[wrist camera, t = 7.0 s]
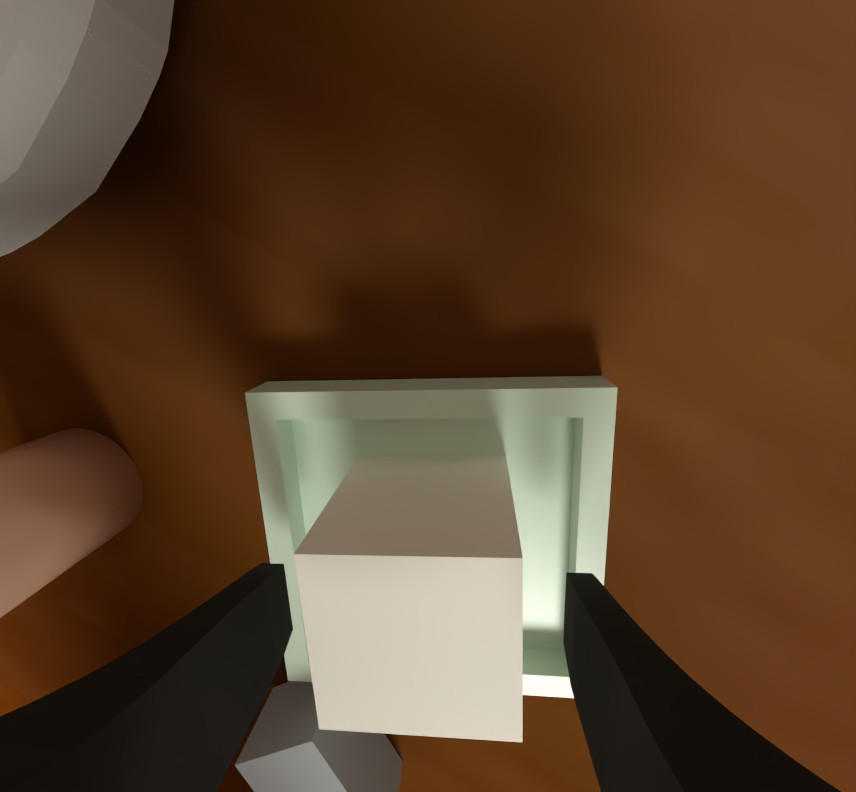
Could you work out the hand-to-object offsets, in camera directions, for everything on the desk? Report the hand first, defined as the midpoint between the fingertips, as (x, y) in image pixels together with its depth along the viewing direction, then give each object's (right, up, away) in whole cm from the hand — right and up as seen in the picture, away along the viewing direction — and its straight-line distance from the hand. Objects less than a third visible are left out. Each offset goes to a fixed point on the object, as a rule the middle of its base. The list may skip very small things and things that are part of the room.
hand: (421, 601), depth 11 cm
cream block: (0, +1, +3) cm, 3 cm away
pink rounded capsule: (-12, +2, +4) cm, 13 cm away
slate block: (-3, -7, +6) cm, 10 cm away
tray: (0, +1, +3) cm, 3 cm away
